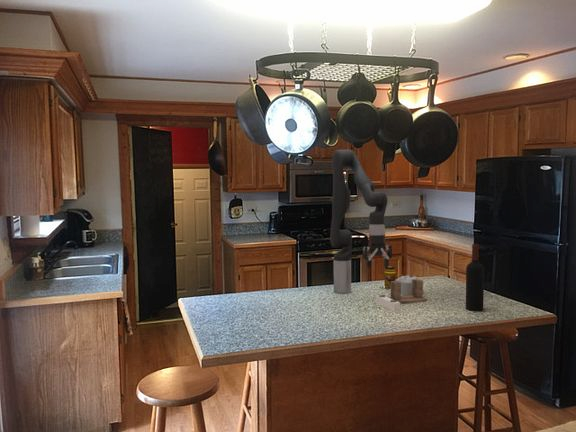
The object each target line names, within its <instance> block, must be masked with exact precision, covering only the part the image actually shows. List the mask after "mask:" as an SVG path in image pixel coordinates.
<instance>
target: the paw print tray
mask: <svg viewBox="0 0 576 432" xmlns="http://www.w3.org/2000/svg"><path fill="white" fill-rule="evenodd" d="M396 279H397V280H396V281H398V282H400V283H401V295H412V279H418V277H417V276H412V277H411V276H410V275H402V276H400V277H398V278H396Z"/></svg>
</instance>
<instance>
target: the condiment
mask: <svg viewBox="0 0 576 432" xmlns="http://www.w3.org/2000/svg"><path fill="white" fill-rule="evenodd" d="M383 276H384V286H385V289H384V290H387V289H391V281H397V280H396V279H397V273H396V267H395V266H394V265H388V267H385V266H384V275H383ZM380 287H381V289H383V288H382V287H383V286H380Z"/></svg>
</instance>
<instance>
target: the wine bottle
mask: <svg viewBox="0 0 576 432" xmlns="http://www.w3.org/2000/svg"><path fill="white" fill-rule="evenodd" d="M479 247H480V245H479V244H478V243H472V244H471V261H470V262H469V263H468V264H467V265H466V266H465V267H466V269H465V310H466V311H469V312H483V311H484V301H485V300H484V296H485V295H484V292H485V291H484V289H485V288H484V287H485V285H484V284H485V283H484V282H485V267H484V266H483V264H482V263H481V262H480V261H479V250H480V249H479Z"/></svg>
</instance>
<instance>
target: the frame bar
mask: <svg viewBox="0 0 576 432" xmlns="http://www.w3.org/2000/svg"><path fill="white" fill-rule="evenodd" d="M388 297H389V296H386V295H385V294H377V295H375V304H377V305H379V306H381V307H383V308H386V309H388V310H389V311H392V312H401V304H400V302H398V301H396V300H393V299H391V298H388Z"/></svg>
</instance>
